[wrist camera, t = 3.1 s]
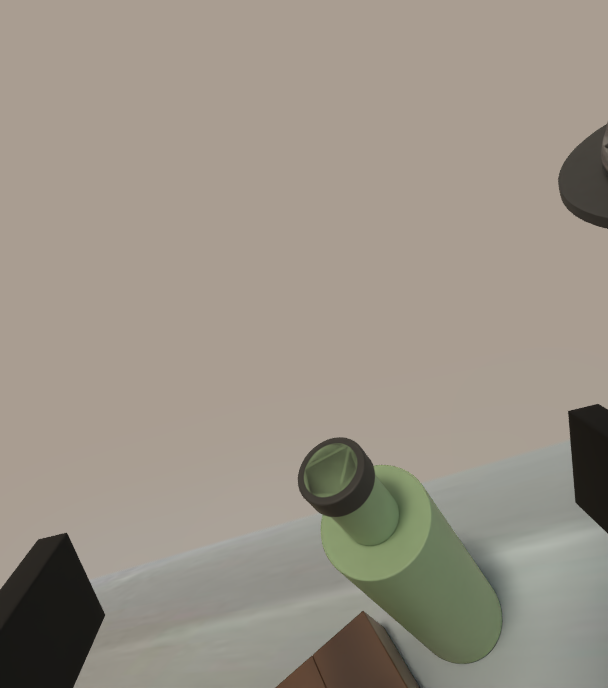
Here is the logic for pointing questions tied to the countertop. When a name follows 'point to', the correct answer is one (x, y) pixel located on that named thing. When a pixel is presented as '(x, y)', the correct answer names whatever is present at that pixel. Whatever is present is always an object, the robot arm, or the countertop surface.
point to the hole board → (354, 661)
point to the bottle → (400, 550)
